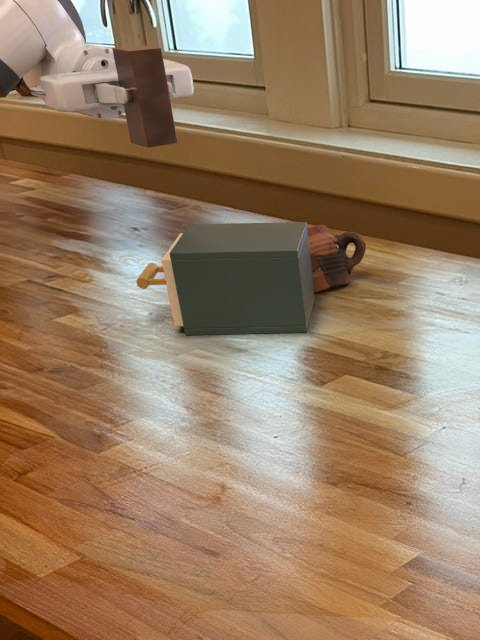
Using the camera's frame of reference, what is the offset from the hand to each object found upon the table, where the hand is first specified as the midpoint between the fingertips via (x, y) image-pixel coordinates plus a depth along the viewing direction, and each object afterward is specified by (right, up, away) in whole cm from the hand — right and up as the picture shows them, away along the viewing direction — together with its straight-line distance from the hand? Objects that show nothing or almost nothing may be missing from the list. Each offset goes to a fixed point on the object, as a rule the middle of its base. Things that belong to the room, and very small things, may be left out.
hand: (148, 93), depth 126 cm
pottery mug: (+22, -22, +7) cm, 32 cm away
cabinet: (+15, -31, -4) cm, 34 cm away
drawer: (+11, -30, -5) cm, 33 cm away
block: (-1, -4, +4) cm, 6 cm away
